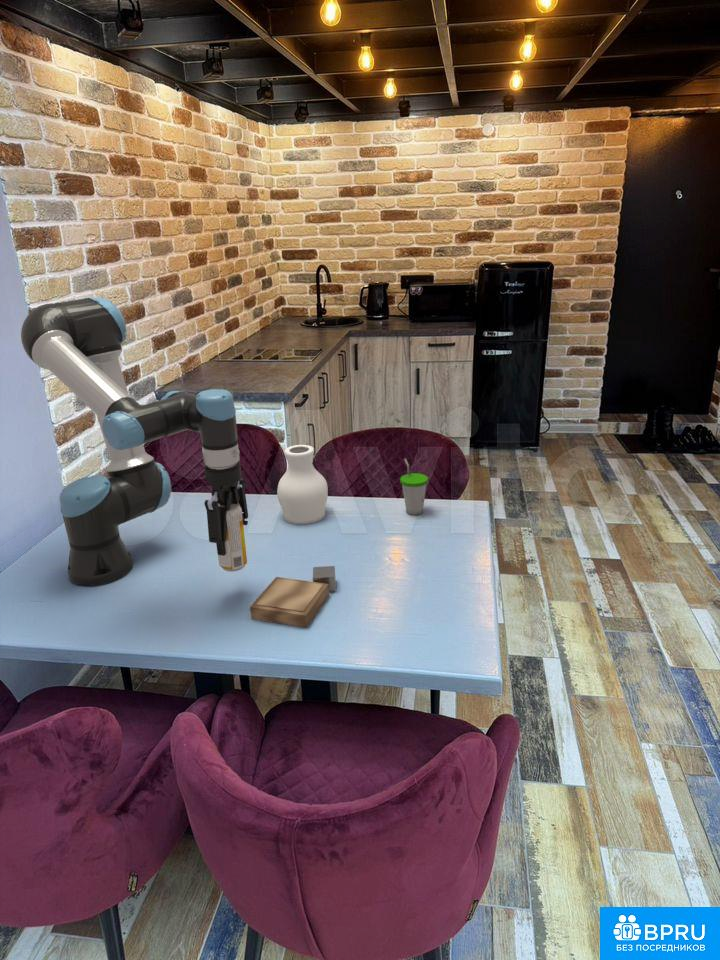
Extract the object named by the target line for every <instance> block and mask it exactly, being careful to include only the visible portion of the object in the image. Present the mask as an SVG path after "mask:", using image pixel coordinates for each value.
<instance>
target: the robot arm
mask: <svg viewBox="0 0 720 960" xmlns="http://www.w3.org/2000/svg"><path fill="white" fill-rule="evenodd" d="M127 331H128V330H127V325H126V322H125V319H124V317H123V315H122V312H121V310H120V309H119V308H118V307H117V306H116V305H115V304H114V303H113V302H112V301H111V300H110V299H108V298H105V297H100V296H99V297H98V296H97V297H86V298H79V299H73V300H68V301H60V302H53V303H46V304H41V305H39V306H37V307H36V308H34V309H32V311H31V312H29V314H28V315H27V316H26V317H25V319H24V321H23V322H22V326H21V331H20V339H21V344H22V349H23V350H24V351H25V353H26V355H27V356H28V358H29V359H30V360H31V361H32V362H33V363H34V364H36V365H37V366H38V367H39V368H40V369H44V370H48V371H49V372H51V373H52V374H53V375H54V377H56V378H57V379H58V380H59V381H60V382H62V384H63V385H64V386H66V387H67V388H68V389H69V390H70V391H71V392H72V394H74V395H75V396H76V397H77V398H79V400H80V401H81V402H82V403H84V404H85V406H87V407H88V408H89V409H90V410H91V411H92V413H94V414H96V417H97V422H98V424H99V427H100V430H101V434H102V437H103V441H104V443H105V444H104V445H105V447H106V450H107V454H108V457H109V460H110V462H109V464H108V466H107V468H106V472H107V475H108V477H106V476H104V475H101V474H100V475H99V474H96V475H90V476H85V477H81V478H79V479H76V480H73V481H72V482H70V483H69V484H67V485H66V486H65V487H63V489H62V490H61V492H60V493H59V505H60V513H61V516H62V519H63V523H64V527H65V531H66V535H67V539H68V540H67V541H68V544H69V548H70V549H69V556H68V565H67V574H68V578H69V581H70V582H71V583H73V584H75V585H78V586H82V587H83V586H84V587H95V586H100V585H101V586H102V585H105V584H110V583H112V582H116V581H117V580H120V579H121V578H123V577H124V576H127V574H129V573H130V572H131V571H132V569H133V568H134V562H133V556H132V553H130V551H129V550H128V549H127V546H126V545H125V543H124V541H123V540H122V538H121V535H120V530H119V526H120V525H122V524H125V523H127V522H129V521H133V520H134V519H137V518H139V517H141V516H144V515H147V514H152V513H153V512H156V511H157V510H158V509H160V508H163V507H164V506H165V505H166V504H168V502H169V500H170V498H171V493H172V482H171V478H170V475H169V472H168V471H167V470H166V468H165V467H164V466H163V464H161V463H159V462H156V461H155V458H154V456H152V455H150V454H149V453H147V452H146V450H145V446H144V445H145V444H148V443H150V442H151V443H152V442H153V441H157V440H159V439H162V438H165V437H169V436H172V435H175V434H178V433H181V432H184V431H192V432H195V433H199V435H200V441H201V448H202V451H201V452H202V461H203V464H204V475H205V481H206V483H207V484H208V485H210V486H211V497H210V499H205V501H204V503H203V504H204V507H205V511H206V519H207V520H206V521H207V530H208V542H209V543H213V544H215V545H216V553H217V559H218V566H219V567H221V566H224V567H231V566H232V564H231V555H230V546H229V540H226V536H227V520H226V514H227V511H229V510H230V503H231V504H236V505H237V503H239V506H240V507H241V509H242V518H243V526H248V524H249V521H248V518H249V511H248V510H249V509H248V504H247V497H246V490H245V485H246V479H245V478H243V477H242V469H241V463H240V461H241V460H240V459H241V458H240V452H241V451H240V449H239V441H238V438H239V437H238V429H237V428H238V426H237V416H236V415H237V414H236V413H237V411H236V407H235V402H234V396H233V394H232V393H231V392H230V391H229V390H226V389H222V388H221V389H217V388H213V389H206V390H203V391H200V392H199V393H197V395H196V394H193V393H191V392H187V391H181V390H180V391H178V390H171V391H168V392H167V393H166V394H164V395H163V396H162V397H161V398H160V400H156V401H153V402H149V403H144V404H141V403H139V402H138V401H136V400H135V398H133V397H131V395H130V394H129V391H128V388H127V385H126V381H125V377H124V374H123V371H122V367H121V363H120V361H119V357H120V355H121V353H123V347H122V344H123V343H124V342H125V341H126V338H127ZM222 506H225V507H222ZM245 547H246V545H245ZM246 548H247V547H246Z"/></svg>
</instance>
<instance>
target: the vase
mask: <svg viewBox="0 0 720 960" xmlns="http://www.w3.org/2000/svg"><path fill="white" fill-rule="evenodd" d="M314 455H315V448H314V447H313V446H311V445H309V444H295V445H291V446H288V447H287V448H285V449H284V456H285V459H286V461H287V464H288V467H287V470H286V471H285V472H284V474H283V475H282V477H281V478H280V480H279V481H278V484H277V493H276V495H277V499H278V502H279V505H280V507H281V508H280V509H281V511H282V515H283V519H284V520H285V521H286V522H288V523H290V524H295V525H310V524H314V523H317V522H320V521H321V520H323V519H324V518H325V517H326V508H327V507H326V506H327V502H328V494H329V490H328V482H327V480H326V479H325V477H324V476H323V474H321V473H320V472H319V471H318V469H316V468H315V466H314V464H313V459H314Z"/></svg>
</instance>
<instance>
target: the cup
mask: <svg viewBox="0 0 720 960" xmlns="http://www.w3.org/2000/svg"><path fill="white" fill-rule="evenodd" d="M403 461H404V462H405V464H406V467H407V468H406V469H407V473H405V474H403V475H402V476H400V479H399V483H400V484H401V488H402V493H403V498H404V499H403V500H404V505H405V510H406V513H407V514H408V515H410V516H420V515H422V514H423V512H424V506H425V498H426V497H425V496H426V492H427V491H426V490H427V484H428V483H429V477H428V476H427V475H425V474H422V473H415V472H414V473H413V472H411V473H410V464H409V462H408V460H407V458H404V459H403Z"/></svg>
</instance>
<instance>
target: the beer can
mask: <svg viewBox="0 0 720 960" xmlns="http://www.w3.org/2000/svg"><path fill="white" fill-rule="evenodd" d="M222 507H225V506H222ZM242 513H243V512H242V509H241V507H240V506H239V503H237V505H236V504H231V503H230V510H229V511H227V514H226V520H227V536H226V540H229V546H230V555H231V564H232V566H231V567H224V566H220V568H222V570H224V571H226V572H230V573H231V572H238V571H240V570H243V569H244V568H245V566H246V565H247V562H248V559H247V556H248V555H247V547H245V546H246V539H245V527H244V525H243V518H242Z"/></svg>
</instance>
